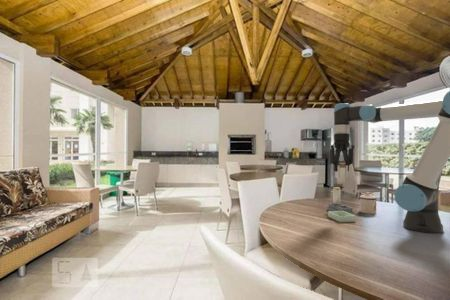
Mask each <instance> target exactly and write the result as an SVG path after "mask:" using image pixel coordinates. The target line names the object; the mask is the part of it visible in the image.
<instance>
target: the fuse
mask: <svg viewBox="0 0 450 300" xmlns="http://www.w3.org/2000/svg"><path fill="white" fill-rule="evenodd" d="M332 203H333V205H340V204H341V187H339V186H335V187H334V186H333V187H332Z"/></svg>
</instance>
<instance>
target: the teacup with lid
mask: <svg viewBox="0 0 450 300" xmlns="http://www.w3.org/2000/svg"><path fill="white" fill-rule="evenodd" d="M359 212H360V213H363V214H367V215H374V214H377V196H374V195H373V194H371V192H368V191H366V192H365V193H364V194H362V195H359Z"/></svg>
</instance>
